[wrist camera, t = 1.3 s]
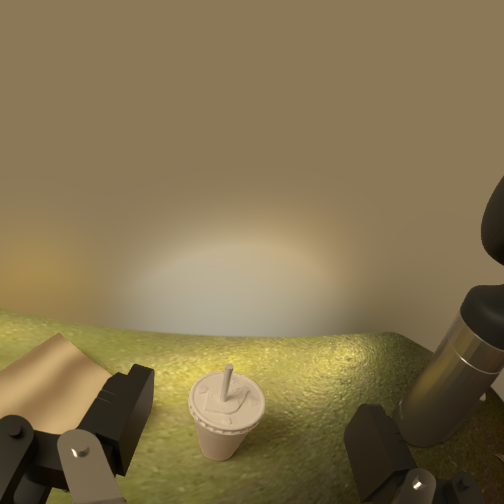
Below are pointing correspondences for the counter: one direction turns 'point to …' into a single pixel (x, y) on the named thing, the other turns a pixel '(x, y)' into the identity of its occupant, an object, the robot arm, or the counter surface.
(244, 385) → the smoothie
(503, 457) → the knife
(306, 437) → the counter surface
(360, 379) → the counter surface
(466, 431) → the counter surface
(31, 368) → the riser
